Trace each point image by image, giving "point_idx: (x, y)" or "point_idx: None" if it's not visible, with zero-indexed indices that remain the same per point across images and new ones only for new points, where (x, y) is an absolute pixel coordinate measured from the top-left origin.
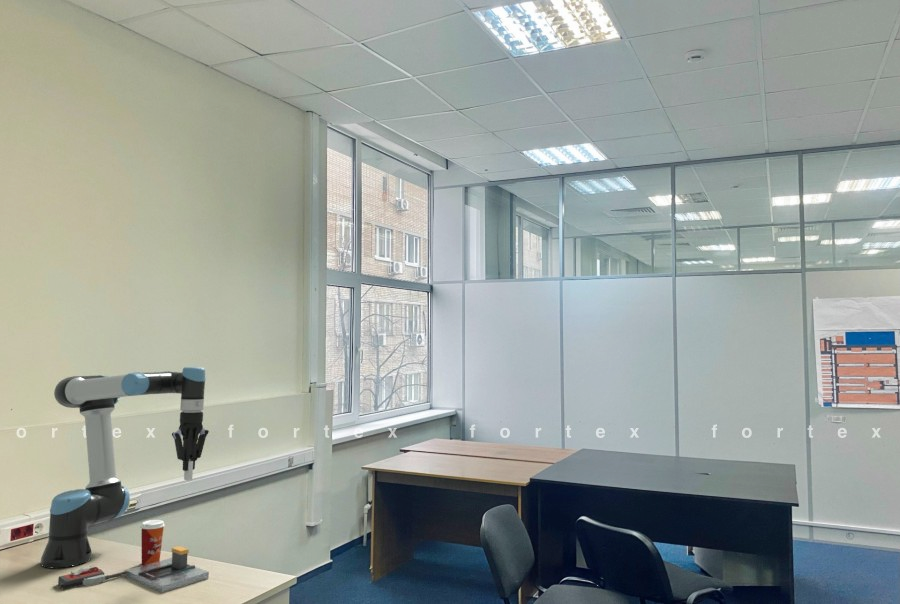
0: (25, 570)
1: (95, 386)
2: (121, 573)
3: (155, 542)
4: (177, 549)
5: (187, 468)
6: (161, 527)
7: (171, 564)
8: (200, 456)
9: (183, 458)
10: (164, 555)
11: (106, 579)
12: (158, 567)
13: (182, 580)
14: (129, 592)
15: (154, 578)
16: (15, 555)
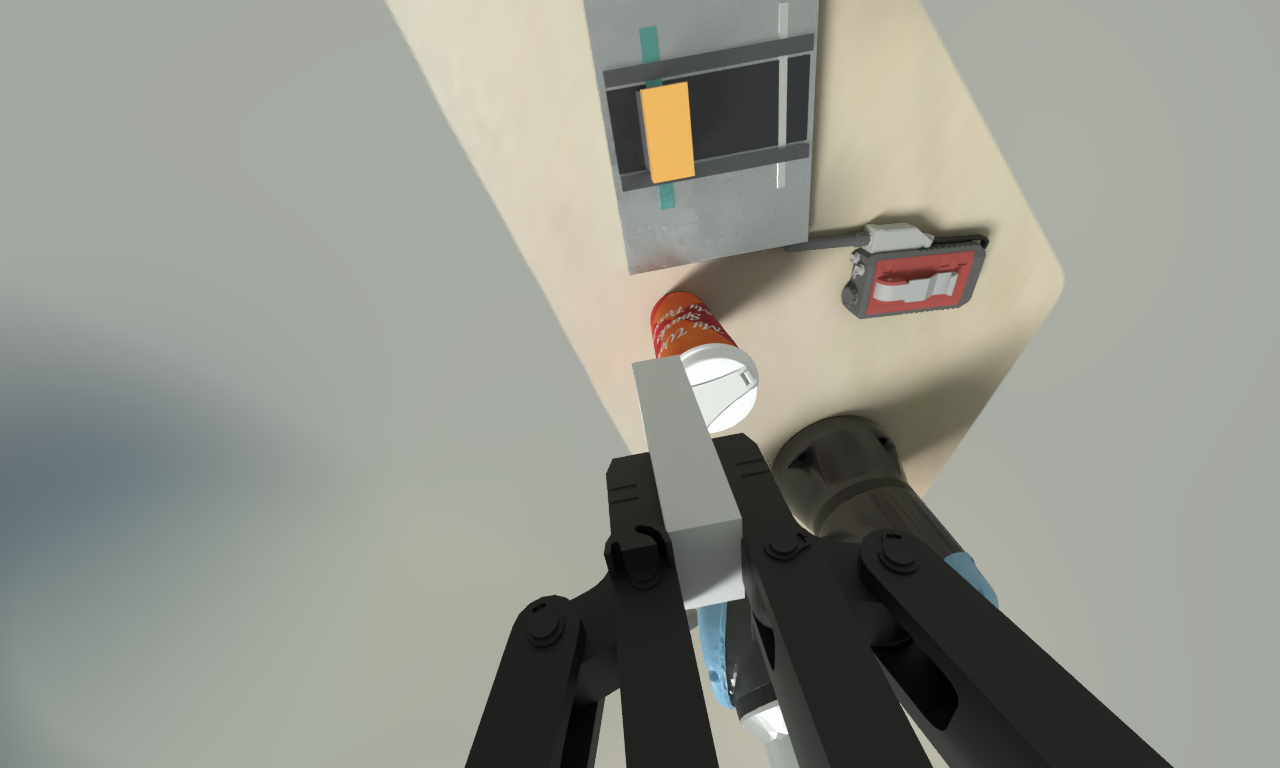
0: (921, 449)
1: None
2: (815, 240)
3: (698, 321)
4: (686, 128)
5: (719, 456)
6: (687, 353)
7: None
8: (518, 626)
9: (897, 550)
10: (610, 368)
11: (860, 232)
12: (726, 168)
13: None
14: (881, 35)
15: (799, 35)
16: None
